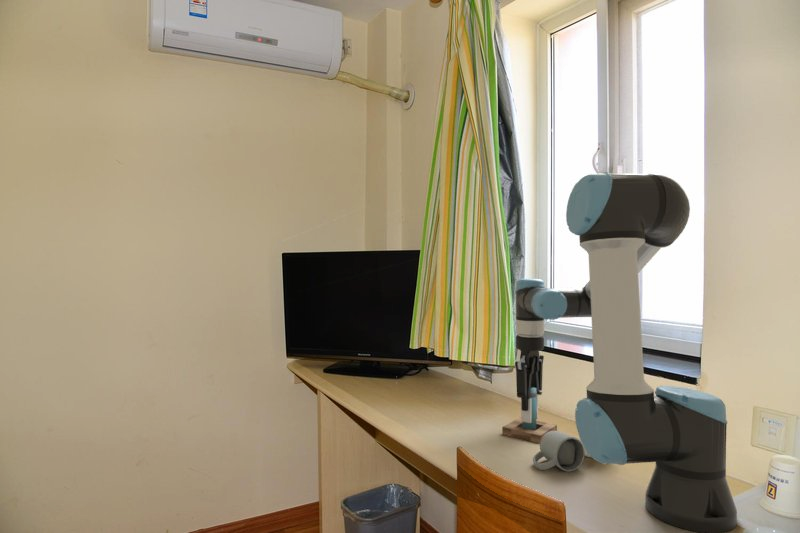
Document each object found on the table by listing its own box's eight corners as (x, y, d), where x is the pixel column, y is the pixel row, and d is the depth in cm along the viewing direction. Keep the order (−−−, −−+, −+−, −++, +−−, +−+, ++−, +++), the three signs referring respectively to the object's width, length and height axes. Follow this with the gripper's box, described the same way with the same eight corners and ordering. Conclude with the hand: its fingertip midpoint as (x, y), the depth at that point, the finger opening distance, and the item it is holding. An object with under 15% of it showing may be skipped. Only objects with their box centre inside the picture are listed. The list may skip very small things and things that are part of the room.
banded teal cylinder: (533, 434, 141) (533, 390, 141) (520, 431, 144) (520, 388, 143) (538, 430, 144) (539, 387, 144) (526, 428, 147) (526, 385, 146)
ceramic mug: (563, 456, 127) (563, 425, 127) (585, 469, 119) (585, 436, 119) (525, 462, 124) (524, 430, 124) (545, 476, 116) (545, 442, 116)
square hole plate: (540, 443, 136) (540, 435, 136) (502, 434, 143) (502, 427, 143) (556, 431, 145) (556, 424, 145) (520, 424, 152) (520, 417, 152)
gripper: (530, 330, 152) (529, 410, 153) (503, 337, 139) (503, 424, 140) (555, 332, 147) (554, 415, 148) (529, 340, 135) (529, 430, 135)
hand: (529, 419), depth 144 cm, fingers closed on banded teal cylinder, 3 cm apart
